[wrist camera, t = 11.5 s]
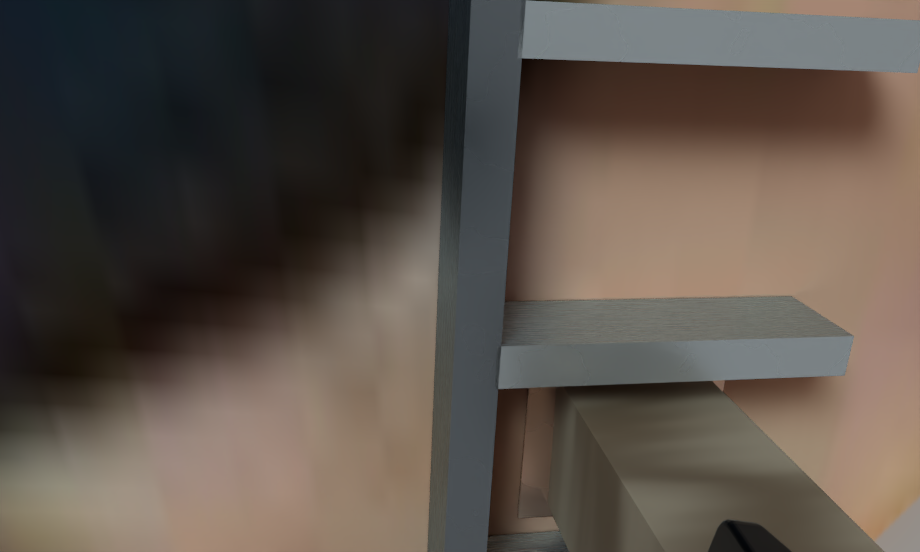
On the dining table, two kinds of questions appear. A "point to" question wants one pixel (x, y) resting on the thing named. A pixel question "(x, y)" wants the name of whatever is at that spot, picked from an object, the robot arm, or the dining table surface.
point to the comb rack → (593, 321)
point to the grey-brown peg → (678, 474)
